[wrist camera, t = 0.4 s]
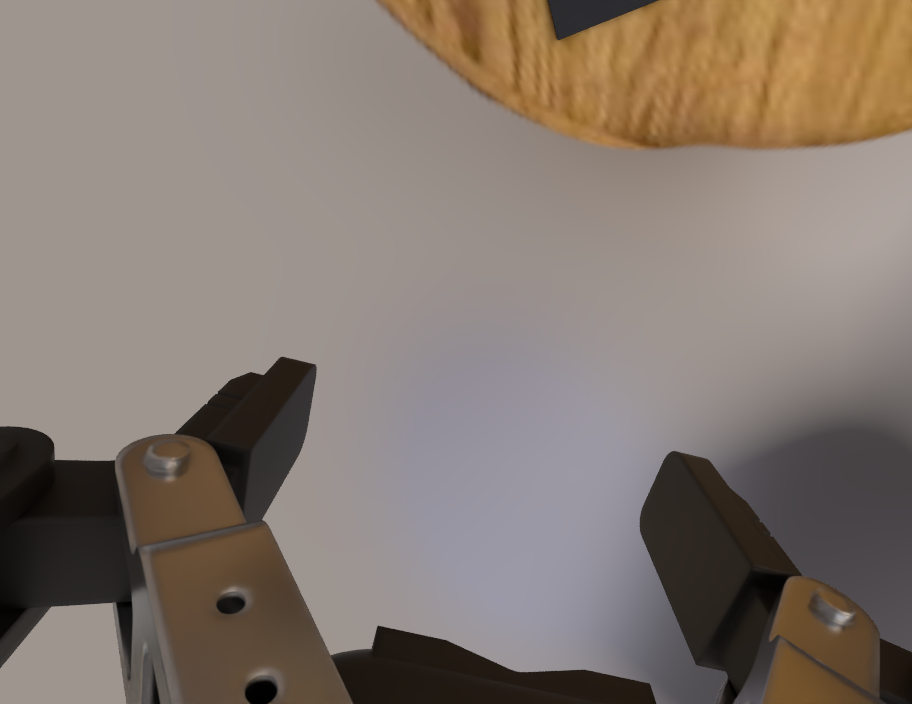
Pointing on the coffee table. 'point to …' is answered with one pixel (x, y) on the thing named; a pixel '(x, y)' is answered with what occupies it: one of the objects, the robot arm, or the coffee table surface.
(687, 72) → the coffee table surface
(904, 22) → the coffee table surface
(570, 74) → the coffee table surface
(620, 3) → the word board
